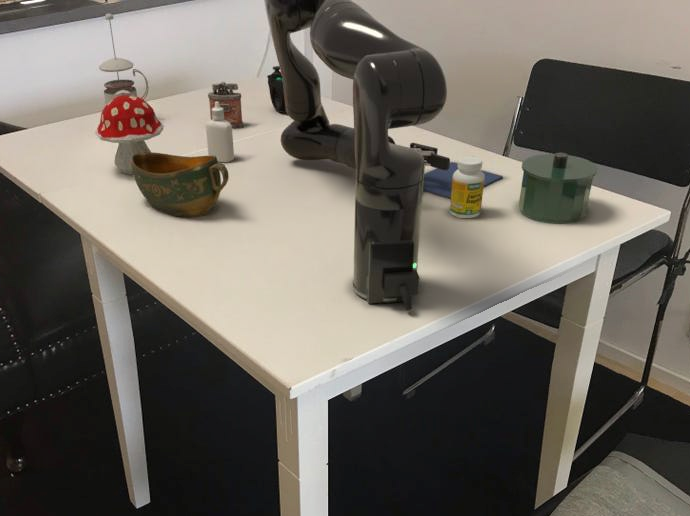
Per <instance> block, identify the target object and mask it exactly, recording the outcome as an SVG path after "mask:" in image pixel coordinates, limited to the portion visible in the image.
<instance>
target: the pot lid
mask: <svg viewBox="0 0 690 516" xmlns="http://www.w3.org/2000/svg"><path fill="white" fill-rule="evenodd" d="M521 170H522V171H523V173H524V172H525V173H527V174H528V175H530V176H533V177H535V178H538V179H542V180H547V181H554V182H578V181H584V180H587V179H590V178H592V177H593V178H594V177H595V176H596V175H597V174H598V170H599V169H598V165H596V164H595V163H594V162H592V161H591V160H588V159H586V158H582V157H579V156H575V155H569V154H568V153H566V152H555V153H546V154H545V153H544V154H538V155H533V156H530V157H527V158H526V159H524V160H523V161H522V163H521Z"/></svg>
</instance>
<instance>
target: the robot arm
mask: <svg viewBox="0 0 690 516" xmlns="http://www.w3.org/2000/svg"><path fill="white" fill-rule="evenodd" d="M263 3H264V8H265V9H264V10H265V14H266V18H267V22H268V27H269V31H270V36H271V39H272V42H273V47H274V51H275V56H276V59H277V63H278V66H280V70H279V71H280V72H281V75H282V80H283V87H284V98H285V107H286V111H285V112H286V114H287V115H288V117H289V118H290V119H291V120H293V121H292V122H291V123H290V124H288V126H286V127H285V129H283V130H282V132H281V135H280V145H281V147H282V149H283V151H284V152H285V153H286V154H288V155H289V156H290V157H292V158H293V159H297V160H300V161H323V160H324V161H326V160H327V161H328V160H329V161H332V162H335V163H339V164H341V165H344V166H346V167H348V168H350V169H354V170H355V194H354V195H355V196H354V230H353V231H354V237H353V278H352V290H353V292H354V293H355V294H356V295H357V296H359V297H361V298H362V299H364V300H366V301H367V303H368V304H384V303H402V302H403V305H404V310H405V311H407V312H410V311H412V310H413V305H412V296H417V295H419V285H420V275H419V273H418V265H419V264H418V263H419V252H420V250H419V249H420V238H421V225H422V224H421V223H422V211H423V210H422V209H423V196H424V190H423V185H424V174H425V169H426V167H431V168H435V169H437V168H438V169H442V170H448V169H449V168H450V163H451V159H450V157H448V156H444V155H440V154H438V150H439V149H438V148H437V147H434V146H430V145H425V144H421V143H416V142H410V144H409V146H404V145H401V144H396V142H395V139H393V138H392V137H391V136H389V130H391V129H393V130H394V129H399V128H407V127H415V126H419V125H423V124H426V123H429V122H431V121H432V120H434V119H436V118H437V116H439V114H440V113H441V112H442V111H443V109H444V107H445V104H446V101H447V95H448V87H447V80H446V76H445V73H444V71H443V69H442V66H441V65H440V63H439V61H438V60H437V58H436V57H435V56H434V54H432V53H431V52H430V51H428V50H427V49H426V48H423V47H421V46H419V45H417V44H415V43H413V42H410V41H409V40H406V39H405V38H403V37H401V36H399V35H397V34H396V33H395V32H393V31H392V30H391V29H389V28H388V27H386V26H385V25H384V24H382V23H381V22H379V21H378V20H377V19H376V18H374V17H373V16H372V15H371V14H370V13H369V12H368V11H367V10H365V9H364V8H363V7H362V6H360V5H359V4H357V3H356V2H354V1H353V0H263ZM307 29H309V40H310V44H311V47H312V49H313V51H314V53H315V54H316V55H317V57H318V58H319V59H320V60H321V61H322V62H323V64H324V65H326V66H327V68H329V70H331V71H333V72H334V73H335V74H337V75H339V76H342V77H343V78H347V79H350V80H352V108H353V109H352V112H353V127H351V126H347V125H343V124H339V123H330V119H329V118H328V116H327V113H326V111H325V109H324V106H323V103H322V94H321V93H322V92H321V80H320V75H319V73H318V70H317V68H316V67H315V65H314V64H313V63H312V62H311V61H310V59H309V58H308V57H306V56H305V55H304V54H303V53H302V52H301V51H300V50H299V49H298V47H297V46H296V45H295V44H294V43H293V41H292V38H291V34H294V33H297V32H300V31H304V30H307Z"/></svg>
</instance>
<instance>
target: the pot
mask: <svg viewBox="0 0 690 516" xmlns="http://www.w3.org/2000/svg"><path fill="white" fill-rule="evenodd" d="M593 180H594V177H592V178H590V179H587V180H584V181H578V182H554V181H547V180H542V179H538V178H535V177H533V176H530V175H528V174H527V173H525V172H524V171H523V173H522V181H521V187H520V192H519V193H520V194H519V200H518V211H519V213H520V214H521V215H523V216H524V217H526V218H528V219H531V220H533V221H536V222H541V223H545V224H546V223H547V224H569V223H574V222H578V221H580V220H582V219H583V218H584V217H585V216H586V214H587V209H588V204H589V199H590V195H591V189H592V185H593Z"/></svg>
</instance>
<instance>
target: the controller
mask: <svg viewBox="0 0 690 516" xmlns="http://www.w3.org/2000/svg"><path fill="white" fill-rule="evenodd" d="M272 70H273V72H272V73H271V74H268V75H267V76H266V77H267V86H268V89H269V96H270V97H269V98H270V102H271V104H272V107H273V108H274V109H275V111H277V112H279V113H285V112H287V111H286V107H285V98H284V87H283V80H282V75H281V70H280V66H279V65H275V66H272Z"/></svg>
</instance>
